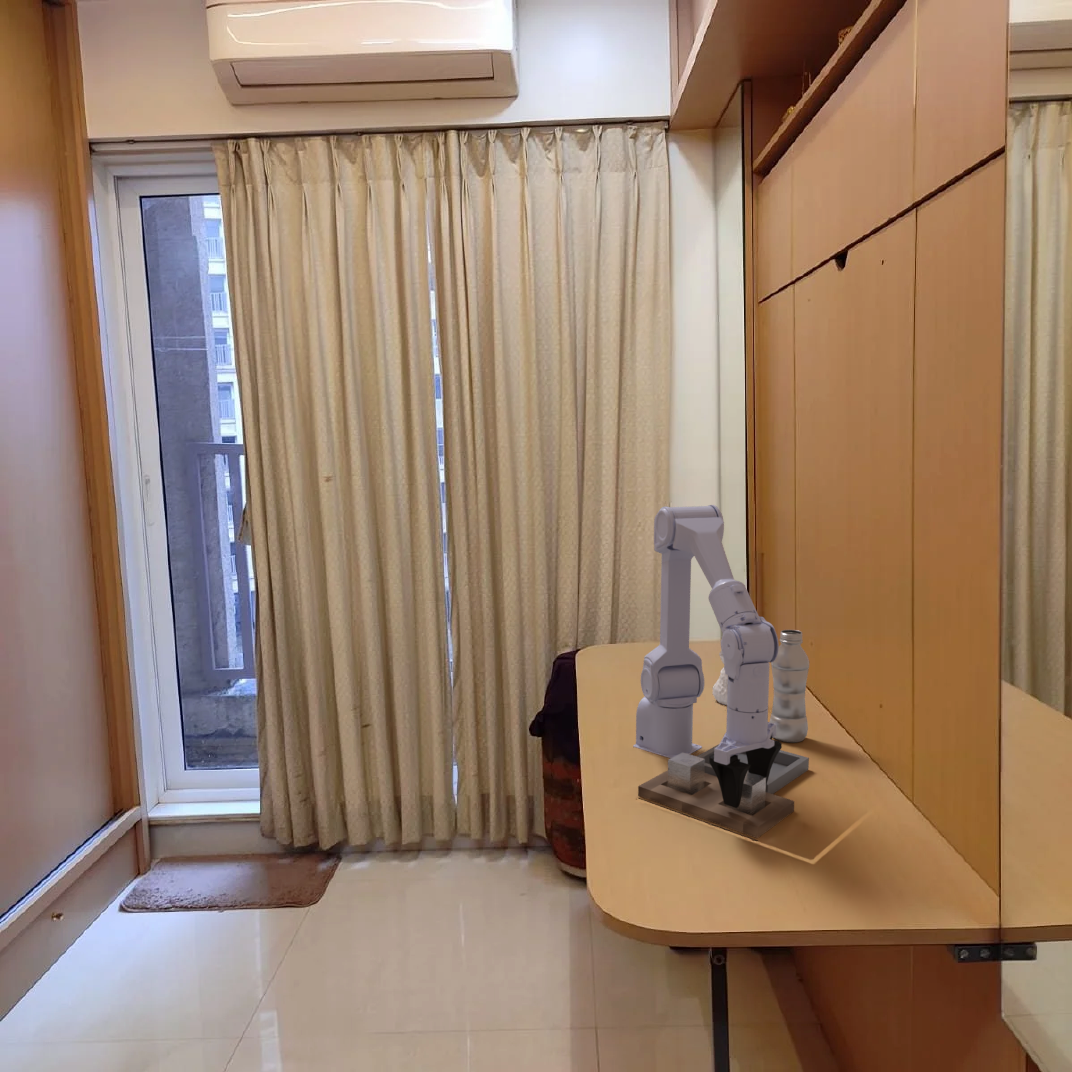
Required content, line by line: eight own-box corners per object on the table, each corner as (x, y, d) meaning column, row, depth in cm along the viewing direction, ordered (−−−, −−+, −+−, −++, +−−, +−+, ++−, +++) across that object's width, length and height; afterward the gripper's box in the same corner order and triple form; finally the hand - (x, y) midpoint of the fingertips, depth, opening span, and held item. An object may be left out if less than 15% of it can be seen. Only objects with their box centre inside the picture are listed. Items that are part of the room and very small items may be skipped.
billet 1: (667, 797, 130) (668, 759, 129) (681, 788, 133) (682, 752, 132) (689, 804, 127) (690, 766, 127) (704, 796, 130) (704, 759, 130)
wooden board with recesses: (638, 798, 130) (638, 786, 129) (678, 776, 138) (678, 764, 137) (757, 841, 116) (757, 827, 116) (793, 813, 124) (794, 801, 124)
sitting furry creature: (748, 712, 168) (750, 653, 166) (705, 706, 171) (707, 648, 170) (759, 698, 176) (760, 642, 174) (717, 693, 180) (719, 637, 178)
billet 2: (726, 817, 123) (727, 778, 123) (740, 808, 126) (741, 769, 125) (751, 826, 121) (752, 786, 120) (764, 816, 124) (765, 777, 123)
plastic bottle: (809, 748, 149) (813, 637, 146) (769, 745, 150) (773, 635, 148) (805, 735, 155) (809, 628, 153) (767, 732, 157) (770, 626, 154)
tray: (688, 775, 138) (688, 760, 138) (732, 750, 148) (732, 736, 148) (767, 800, 129) (767, 784, 128) (808, 772, 139) (808, 757, 138)
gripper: (747, 726, 113) (744, 822, 115) (796, 699, 124) (793, 788, 126) (701, 714, 118) (699, 806, 120) (752, 689, 129) (750, 775, 130)
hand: (744, 796), depth 123 cm, fingers open, 7 cm apart
